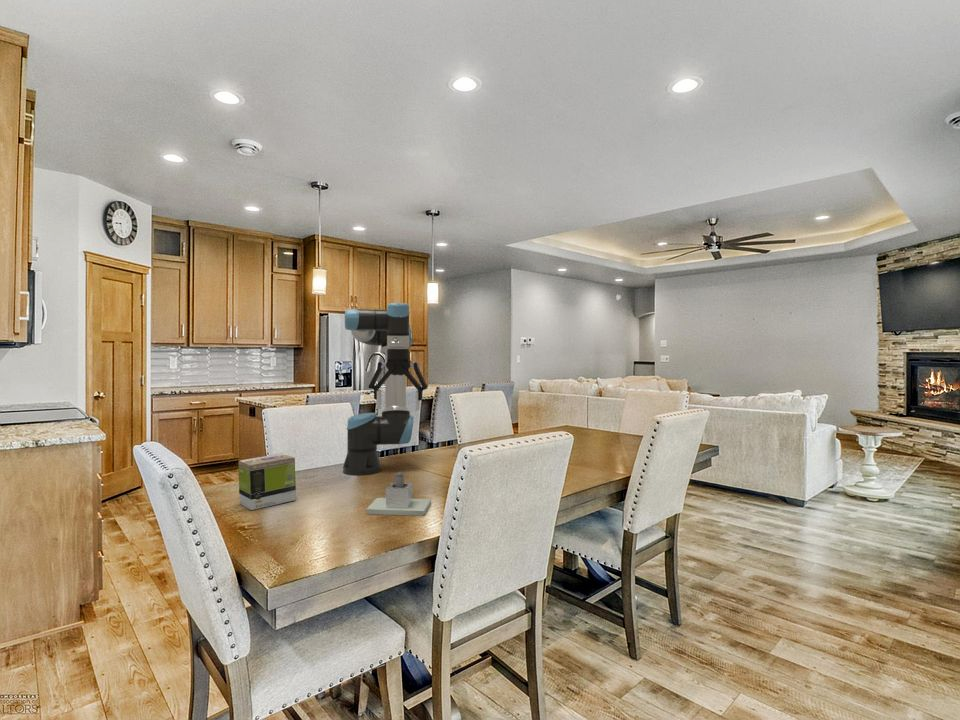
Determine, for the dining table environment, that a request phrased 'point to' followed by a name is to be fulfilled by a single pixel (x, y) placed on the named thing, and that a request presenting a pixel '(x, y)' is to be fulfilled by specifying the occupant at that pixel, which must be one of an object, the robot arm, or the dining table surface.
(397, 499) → the collar
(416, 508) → the post block
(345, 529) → the dining table surface
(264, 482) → the tea box
